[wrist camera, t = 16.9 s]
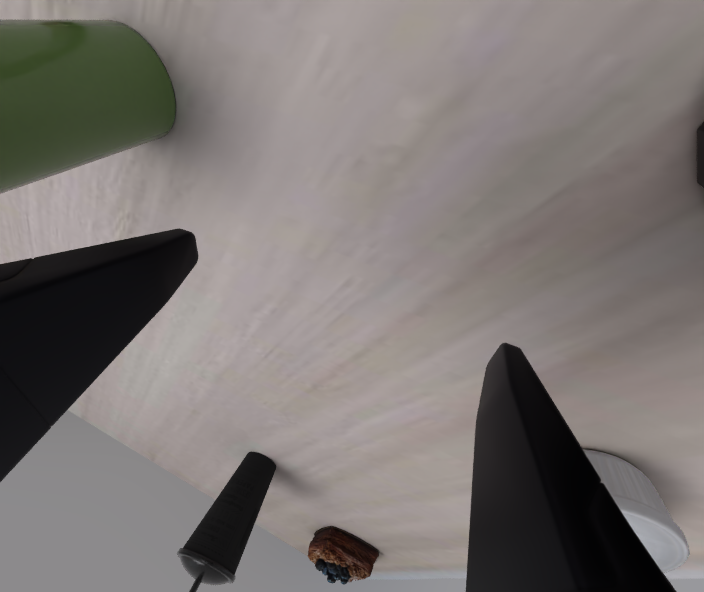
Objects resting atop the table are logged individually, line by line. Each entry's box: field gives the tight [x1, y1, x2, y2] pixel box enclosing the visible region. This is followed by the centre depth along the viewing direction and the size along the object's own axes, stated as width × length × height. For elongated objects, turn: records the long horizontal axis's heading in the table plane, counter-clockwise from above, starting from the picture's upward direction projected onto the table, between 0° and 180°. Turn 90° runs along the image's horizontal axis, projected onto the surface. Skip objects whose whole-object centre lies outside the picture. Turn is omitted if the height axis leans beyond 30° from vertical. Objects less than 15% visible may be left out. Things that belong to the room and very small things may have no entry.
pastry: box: [308, 526, 379, 584], centre depth 61 cm, size 11×12×6 cm
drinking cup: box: [177, 452, 276, 592], centre depth 44 cm, size 8×8×20 cm
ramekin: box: [583, 449, 690, 573], centre depth 29 cm, size 11×11×5 cm
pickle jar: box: [0, 20, 176, 194], centre depth 17 cm, size 7×7×12 cm
